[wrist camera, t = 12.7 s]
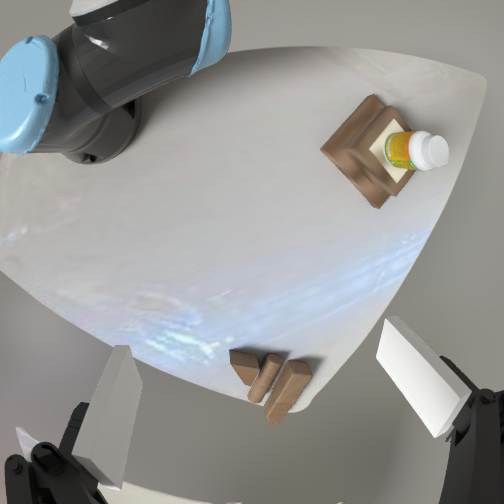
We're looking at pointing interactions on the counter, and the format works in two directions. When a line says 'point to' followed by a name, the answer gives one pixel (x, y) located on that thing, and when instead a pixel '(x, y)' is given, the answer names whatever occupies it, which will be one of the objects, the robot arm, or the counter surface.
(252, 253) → the counter surface
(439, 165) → the supplement bottle
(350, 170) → the plinth
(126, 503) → the counter surface
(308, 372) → the wooden block set
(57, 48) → the robot arm
